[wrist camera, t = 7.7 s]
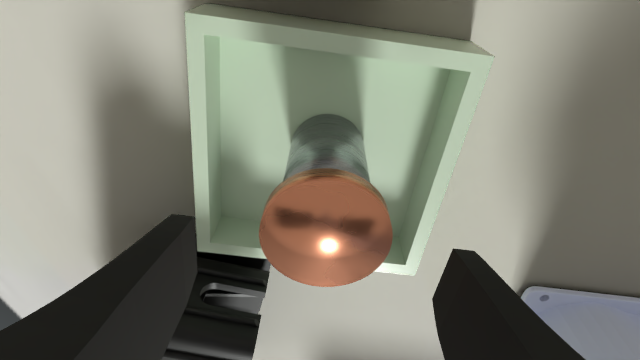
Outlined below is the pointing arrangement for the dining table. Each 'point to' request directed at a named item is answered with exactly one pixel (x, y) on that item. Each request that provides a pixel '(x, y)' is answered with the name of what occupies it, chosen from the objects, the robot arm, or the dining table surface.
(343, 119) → the grey brown cylinder
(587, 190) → the dining table surface
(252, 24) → the tray
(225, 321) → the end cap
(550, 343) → the robot arm
